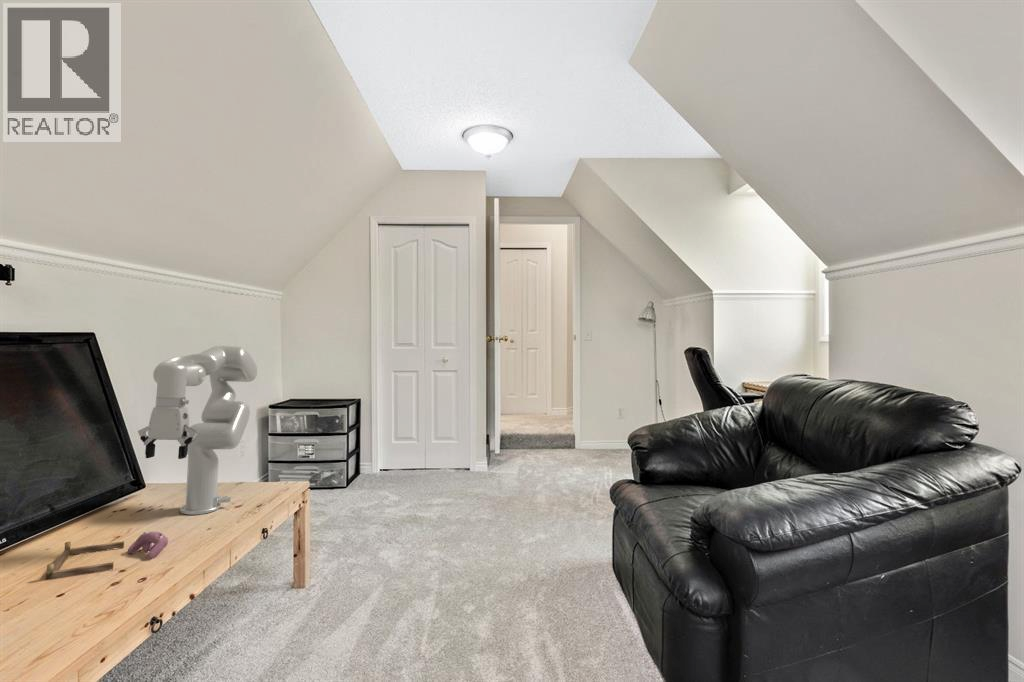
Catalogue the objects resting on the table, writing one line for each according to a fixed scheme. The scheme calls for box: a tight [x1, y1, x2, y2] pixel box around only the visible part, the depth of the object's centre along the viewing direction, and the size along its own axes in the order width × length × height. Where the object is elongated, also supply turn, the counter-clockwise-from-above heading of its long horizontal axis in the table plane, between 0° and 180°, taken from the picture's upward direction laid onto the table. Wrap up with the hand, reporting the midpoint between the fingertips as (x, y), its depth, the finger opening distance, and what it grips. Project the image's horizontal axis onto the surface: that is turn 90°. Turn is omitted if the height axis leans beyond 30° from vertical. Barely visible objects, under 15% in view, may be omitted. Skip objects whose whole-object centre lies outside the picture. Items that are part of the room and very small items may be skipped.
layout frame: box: [45, 541, 125, 581], centre depth 132 cm, size 13×16×4 cm
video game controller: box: [127, 531, 169, 560], centre depth 139 cm, size 10×5×7 cm, turn 71°
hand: (166, 457), depth 150 cm, fingers open, 9 cm apart
